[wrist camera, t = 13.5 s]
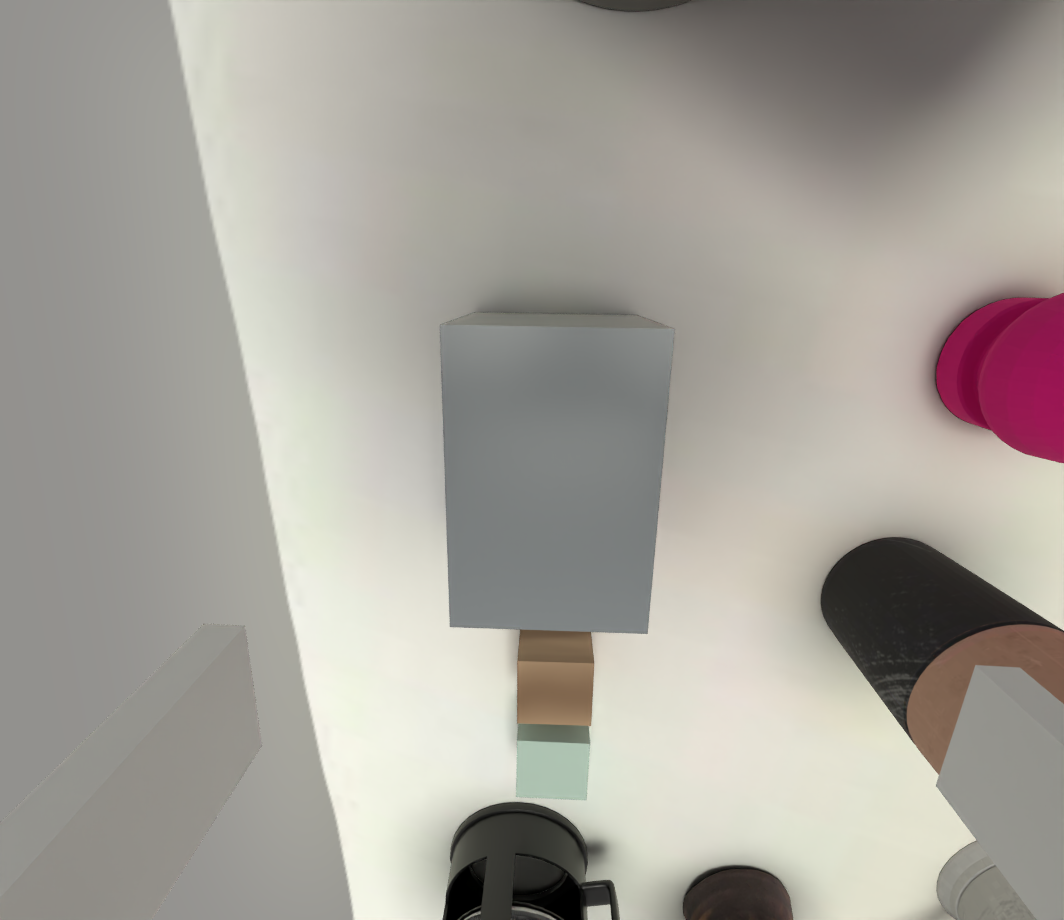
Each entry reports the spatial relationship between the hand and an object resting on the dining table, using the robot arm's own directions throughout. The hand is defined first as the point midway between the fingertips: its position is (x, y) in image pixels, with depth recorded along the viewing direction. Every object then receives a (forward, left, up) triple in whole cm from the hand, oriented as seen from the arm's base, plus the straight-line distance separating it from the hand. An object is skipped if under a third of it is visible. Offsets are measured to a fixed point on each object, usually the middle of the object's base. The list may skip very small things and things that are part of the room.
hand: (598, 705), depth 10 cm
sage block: (+19, 0, -20) cm, 27 cm away
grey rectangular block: (0, -1, -20) cm, 20 cm away
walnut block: (+13, 0, -20) cm, 24 cm away
